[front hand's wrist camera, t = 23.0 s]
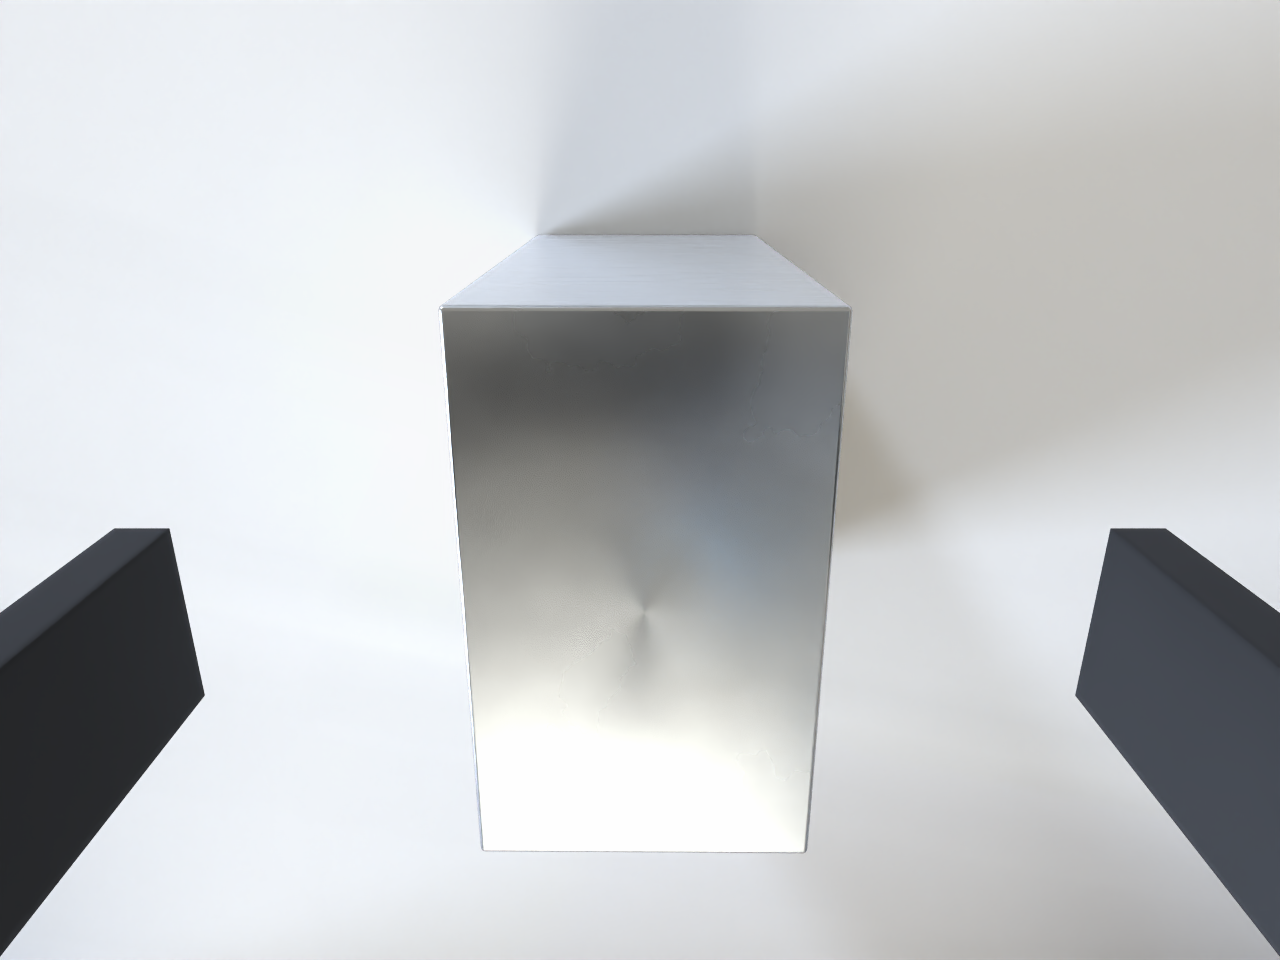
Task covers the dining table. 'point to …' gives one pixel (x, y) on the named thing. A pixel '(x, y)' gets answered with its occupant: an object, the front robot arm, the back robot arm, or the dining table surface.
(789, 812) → the brick
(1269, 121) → the dining table surface
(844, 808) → the dining table surface
